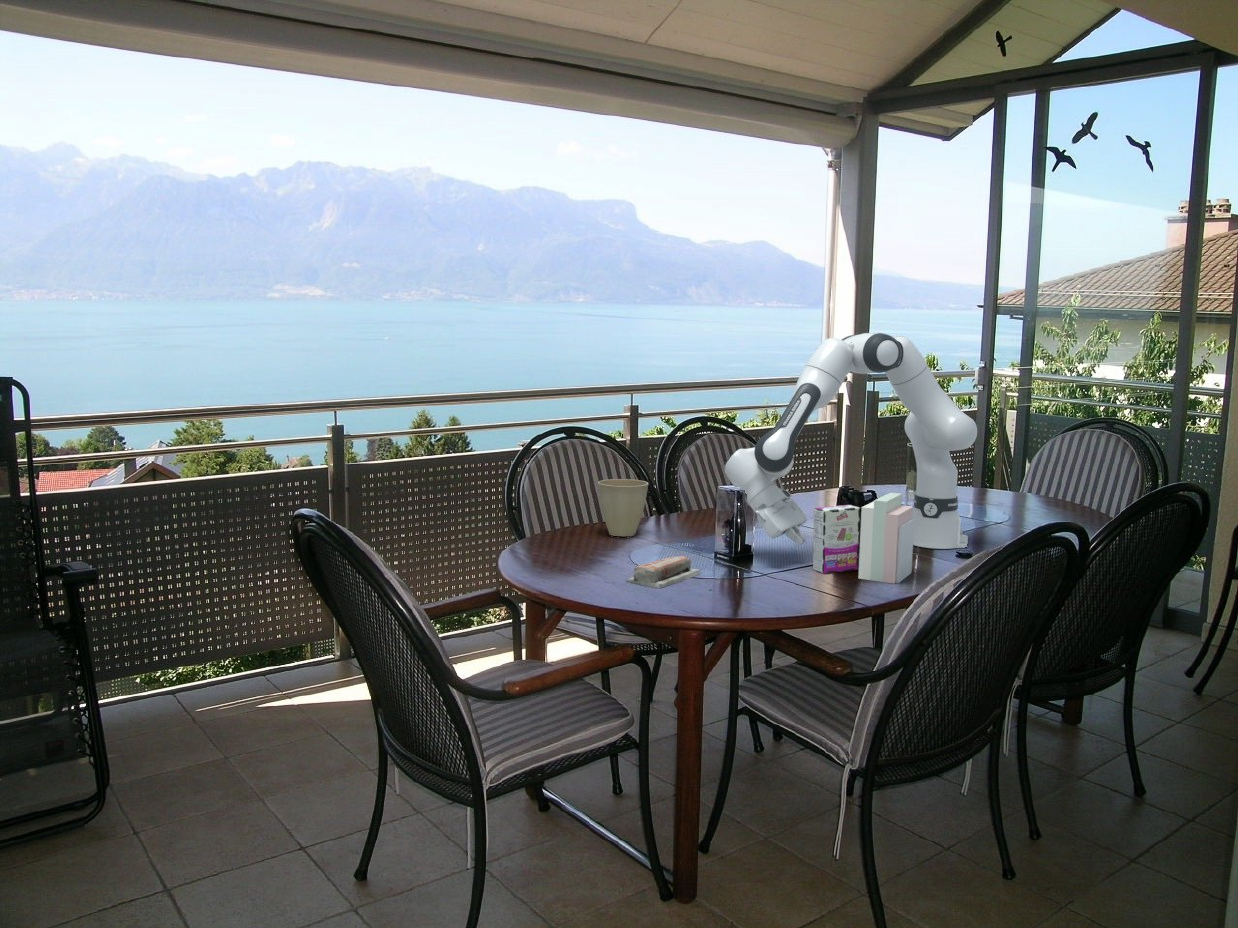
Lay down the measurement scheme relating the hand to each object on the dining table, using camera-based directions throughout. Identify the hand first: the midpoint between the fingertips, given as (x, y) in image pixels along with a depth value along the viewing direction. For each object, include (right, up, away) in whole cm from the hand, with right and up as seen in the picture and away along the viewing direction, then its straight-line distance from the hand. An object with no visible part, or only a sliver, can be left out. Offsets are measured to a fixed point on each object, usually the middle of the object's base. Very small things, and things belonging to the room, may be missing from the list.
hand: (802, 543), depth 254 cm
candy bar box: (+7, -7, -5) cm, 11 cm away
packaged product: (-37, -8, -15) cm, 41 cm away
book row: (+19, -7, -10) cm, 23 cm away
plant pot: (-47, -1, +34) cm, 58 cm away
